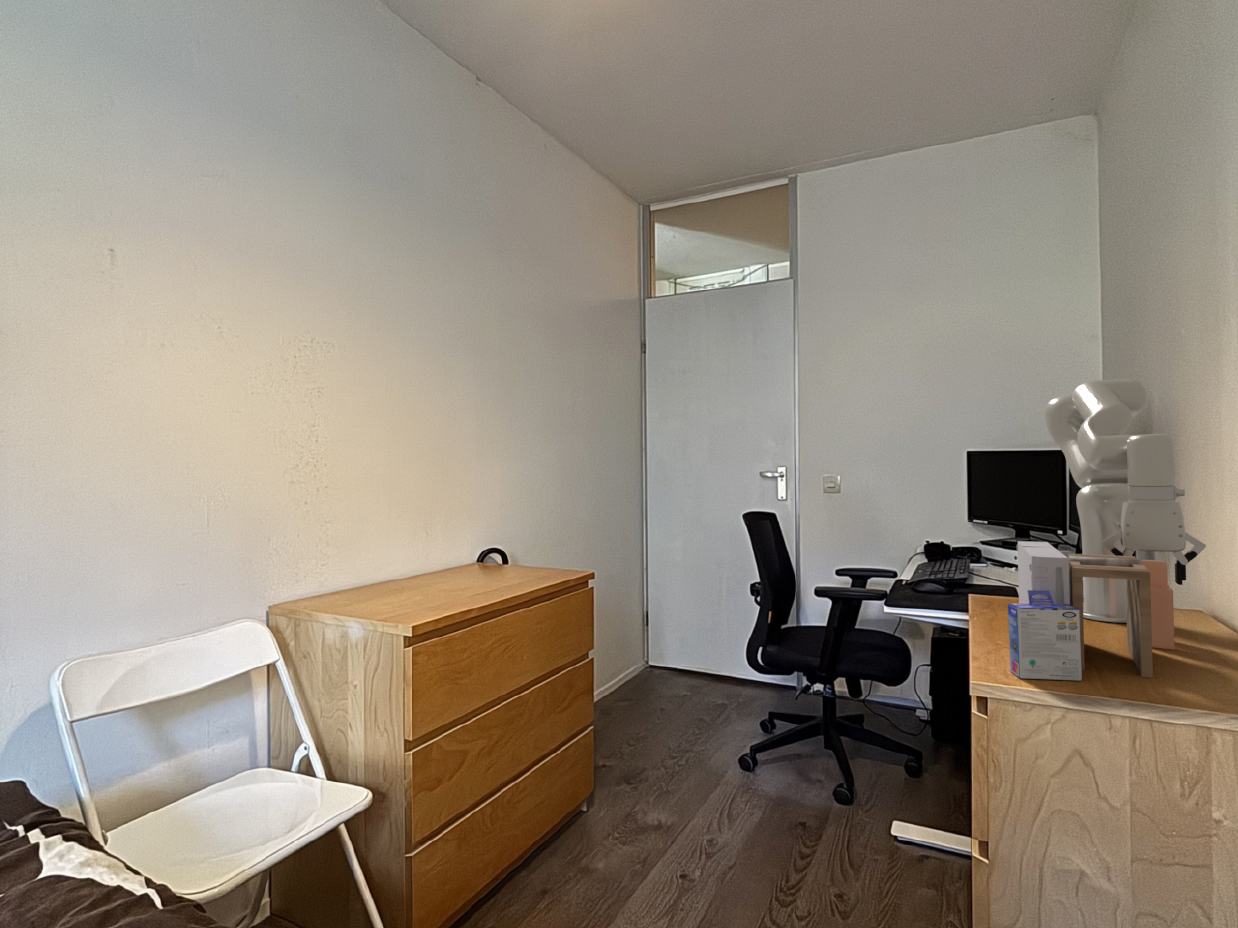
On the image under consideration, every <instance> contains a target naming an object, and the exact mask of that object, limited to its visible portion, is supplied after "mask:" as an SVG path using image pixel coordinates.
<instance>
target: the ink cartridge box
mask: <svg viewBox="0 0 1238 928" xmlns="http://www.w3.org/2000/svg"><path fill="white" fill-rule="evenodd" d="M1027 591H1028V597H1029V603H1021V604H1019V603H1011V602H1010V603H1007V617H1008V620H1007V621H1008V635H1009V636H1008V637H1009V638H1008V640H1009V642H1008V643H1009V660H1010V661H1009V665H1010V667H1009V670H1010V672H1011V673H1012V674H1014V675H1015V676H1016V677H1017V678H1018V679H1032V680H1033V679H1035V680H1057V681H1059V680H1060V681H1079V682H1080V681H1082V679H1083V676H1082V671H1083V670H1081V645H1080V610H1079V609H1078V608H1075V607H1073V606H1071V605H1069V604H1054V603H1053V600H1052V597H1051V594H1050V591H1034V590H1027ZM1037 594H1042V595H1045V596H1047V597H1048V599H1034V598H1032V596H1033V595H1037Z"/></svg>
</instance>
